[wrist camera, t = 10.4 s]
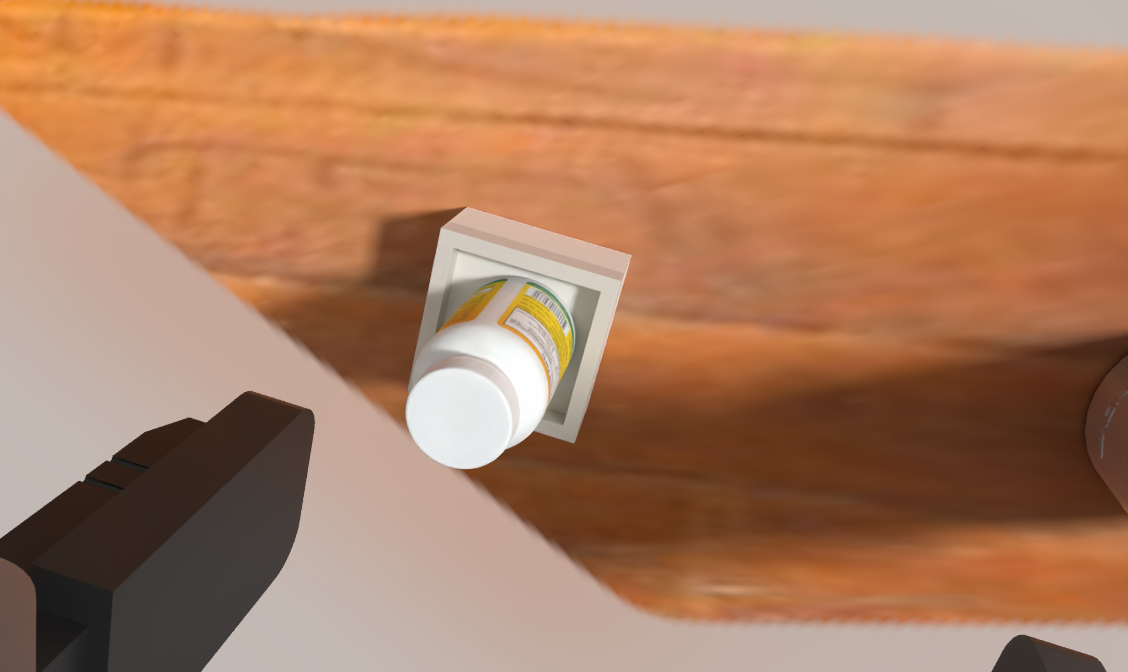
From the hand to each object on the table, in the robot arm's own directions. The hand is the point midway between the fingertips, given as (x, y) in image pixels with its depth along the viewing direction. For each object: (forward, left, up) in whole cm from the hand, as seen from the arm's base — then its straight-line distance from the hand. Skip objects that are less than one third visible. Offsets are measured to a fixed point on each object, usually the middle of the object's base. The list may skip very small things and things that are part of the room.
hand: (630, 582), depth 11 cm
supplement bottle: (+6, +10, -30) cm, 32 cm away
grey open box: (+6, +10, -33) cm, 35 cm away
